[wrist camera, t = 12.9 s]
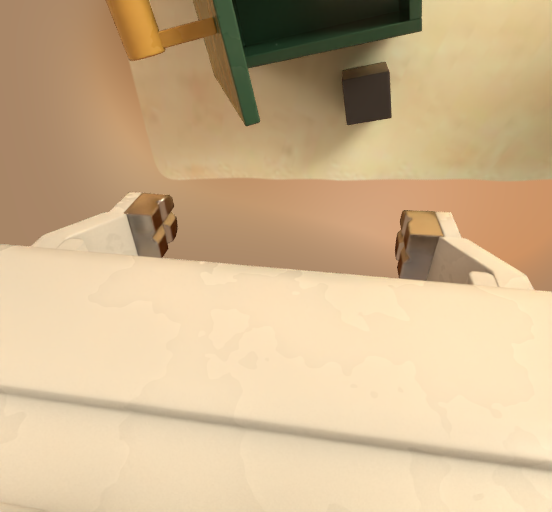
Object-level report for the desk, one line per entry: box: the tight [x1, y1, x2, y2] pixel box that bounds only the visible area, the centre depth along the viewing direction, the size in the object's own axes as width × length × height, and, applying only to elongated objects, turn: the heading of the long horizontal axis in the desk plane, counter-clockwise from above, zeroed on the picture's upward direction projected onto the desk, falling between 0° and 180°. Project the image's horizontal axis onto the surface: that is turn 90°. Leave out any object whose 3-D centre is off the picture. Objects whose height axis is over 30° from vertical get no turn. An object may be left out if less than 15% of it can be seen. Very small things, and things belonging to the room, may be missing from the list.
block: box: [342, 62, 391, 125], centre depth 39 cm, size 4×4×4 cm
